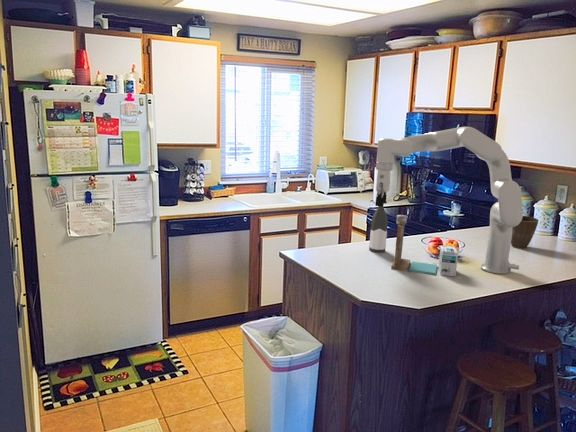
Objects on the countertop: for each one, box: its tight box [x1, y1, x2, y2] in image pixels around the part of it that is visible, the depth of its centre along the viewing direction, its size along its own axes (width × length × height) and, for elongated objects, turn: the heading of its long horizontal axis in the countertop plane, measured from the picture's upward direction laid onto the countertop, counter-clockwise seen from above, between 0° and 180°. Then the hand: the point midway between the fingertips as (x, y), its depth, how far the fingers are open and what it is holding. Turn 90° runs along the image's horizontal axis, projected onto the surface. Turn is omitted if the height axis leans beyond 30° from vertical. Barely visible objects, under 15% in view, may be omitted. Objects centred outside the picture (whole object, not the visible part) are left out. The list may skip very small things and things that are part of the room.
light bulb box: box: [437, 245, 459, 277], centre depth 218 cm, size 11×7×11 cm, turn 168°
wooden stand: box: [390, 214, 411, 272], centre depth 223 cm, size 7×13×23 cm, turn 161°
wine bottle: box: [368, 203, 389, 254], centre depth 246 cm, size 8×8×30 cm
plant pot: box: [510, 215, 539, 250], centre depth 267 cm, size 15×15×16 cm
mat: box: [409, 261, 438, 276], centre depth 223 cm, size 11×13×1 cm
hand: (380, 204), depth 223 cm, fingers open, 9 cm apart
